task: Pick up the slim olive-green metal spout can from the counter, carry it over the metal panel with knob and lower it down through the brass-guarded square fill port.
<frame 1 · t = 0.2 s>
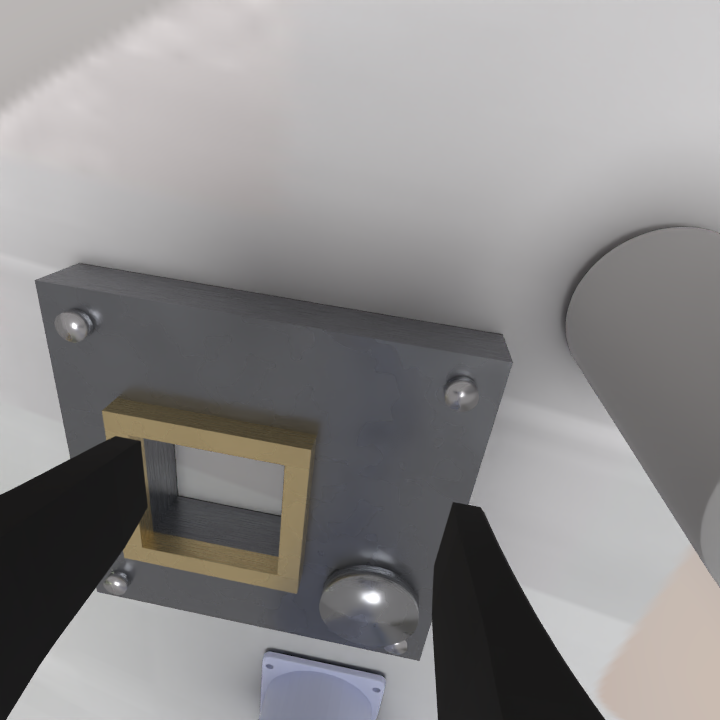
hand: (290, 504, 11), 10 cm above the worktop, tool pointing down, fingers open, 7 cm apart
beverage can: (647, 306, 18), on the worktop
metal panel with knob: (236, 459, 24), on the worktop
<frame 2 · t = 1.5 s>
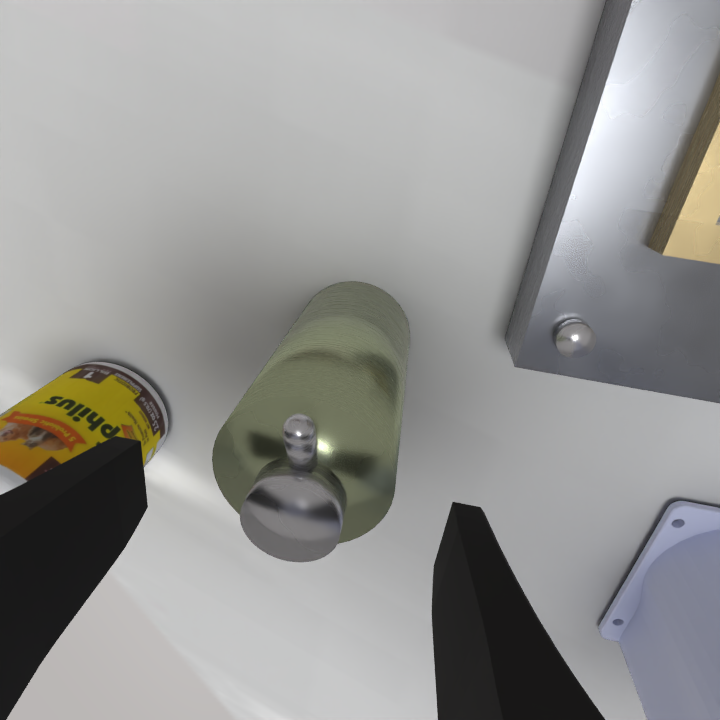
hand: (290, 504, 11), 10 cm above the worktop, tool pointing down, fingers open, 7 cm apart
supplement bottle: (121, 404, 23), on the worktop
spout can: (354, 335, 20), on the worktop
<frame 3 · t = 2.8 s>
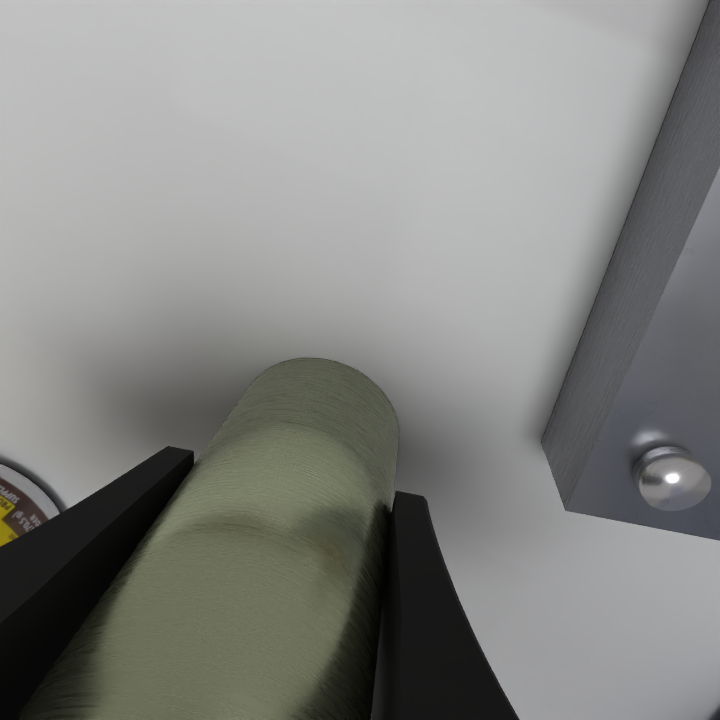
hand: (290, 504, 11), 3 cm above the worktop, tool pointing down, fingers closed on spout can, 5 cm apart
supplement bottle: (6, 506, 17), on the worktop
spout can: (318, 430, 13), on the worktop, touching gripper
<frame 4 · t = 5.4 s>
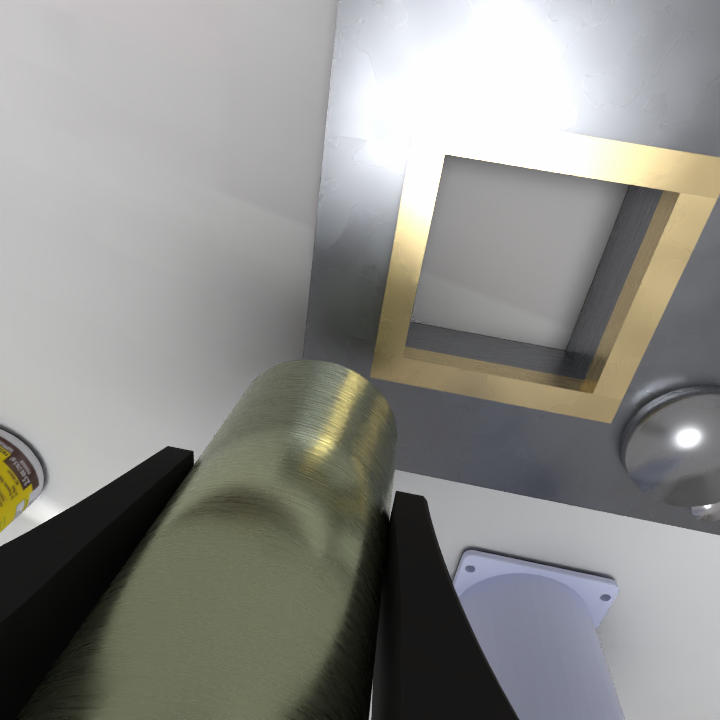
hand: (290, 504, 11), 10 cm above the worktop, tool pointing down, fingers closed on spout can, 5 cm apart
supplement bottle: (5, 458, 27), on the worktop
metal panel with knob: (508, 257, 18), on the worktop
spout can: (316, 432, 13), point 7 cm above the worktop, touching gripper
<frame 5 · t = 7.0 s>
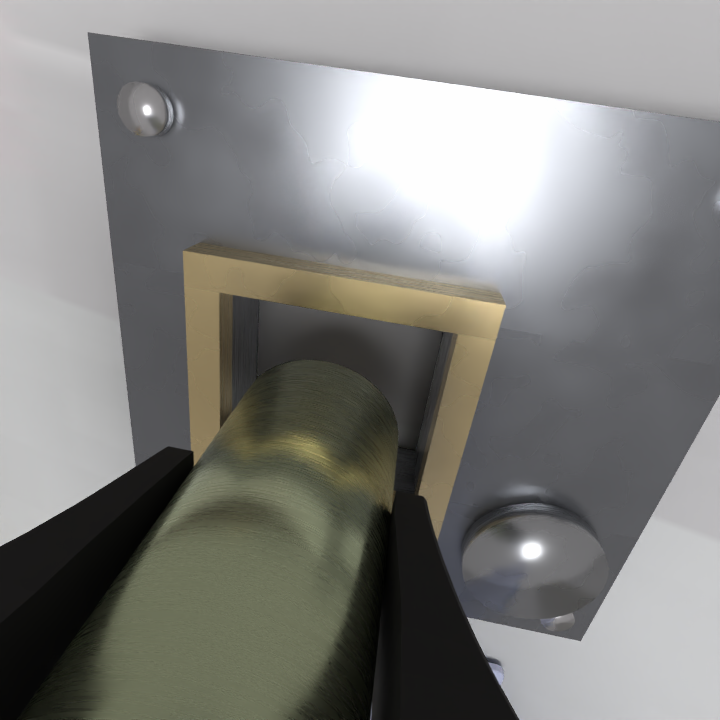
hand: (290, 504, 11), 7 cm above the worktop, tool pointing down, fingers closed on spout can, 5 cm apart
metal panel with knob: (343, 363, 17), on the worktop
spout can: (317, 432, 13), point 4 cm above the worktop, touching gripper
when the fingers open (4 cm above the worktop, at t = 8.0 s): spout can drops 1 cm, resting in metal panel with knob.
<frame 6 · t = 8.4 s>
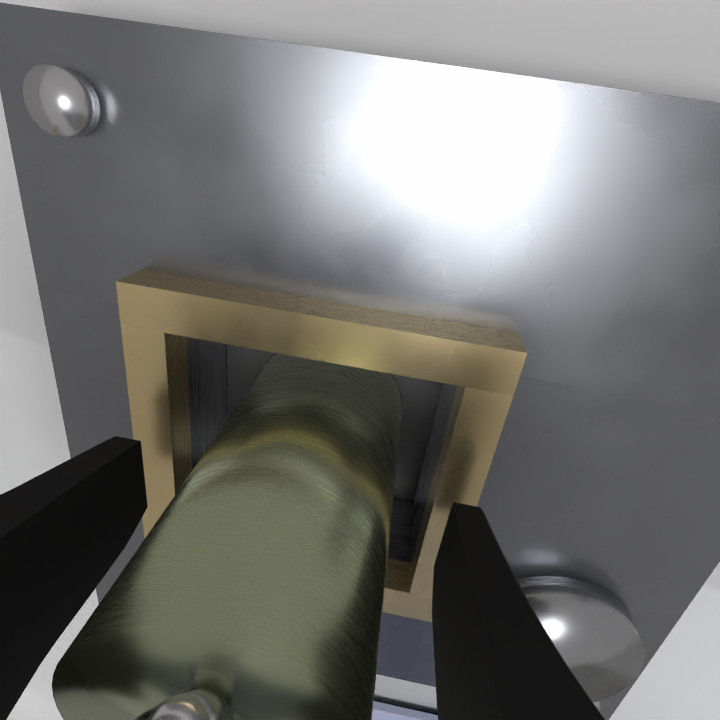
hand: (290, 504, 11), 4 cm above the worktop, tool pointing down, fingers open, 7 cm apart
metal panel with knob: (328, 403, 15), on the worktop
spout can: (328, 404, 15), resting in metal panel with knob
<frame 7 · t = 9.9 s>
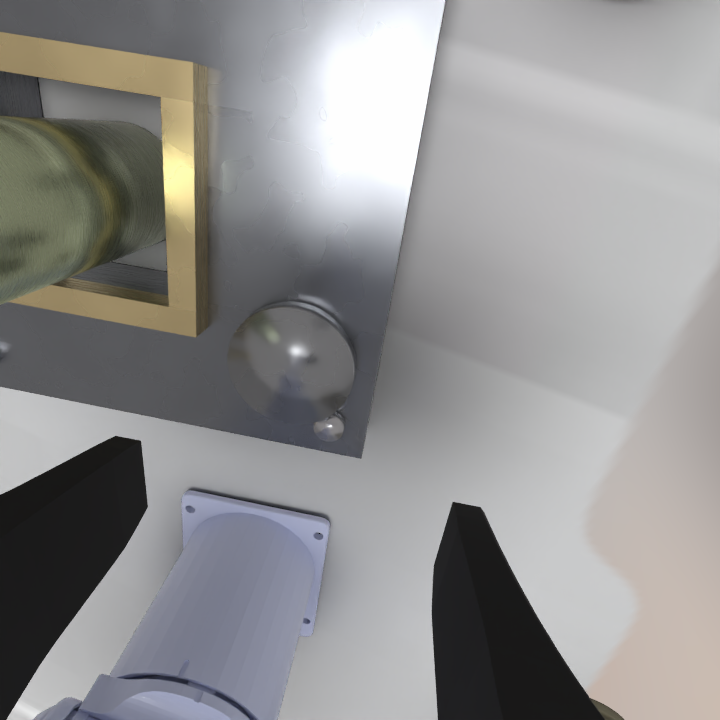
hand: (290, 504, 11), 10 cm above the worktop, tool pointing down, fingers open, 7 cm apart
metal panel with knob: (129, 185, 18), on the worktop
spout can: (130, 186, 19), resting in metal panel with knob
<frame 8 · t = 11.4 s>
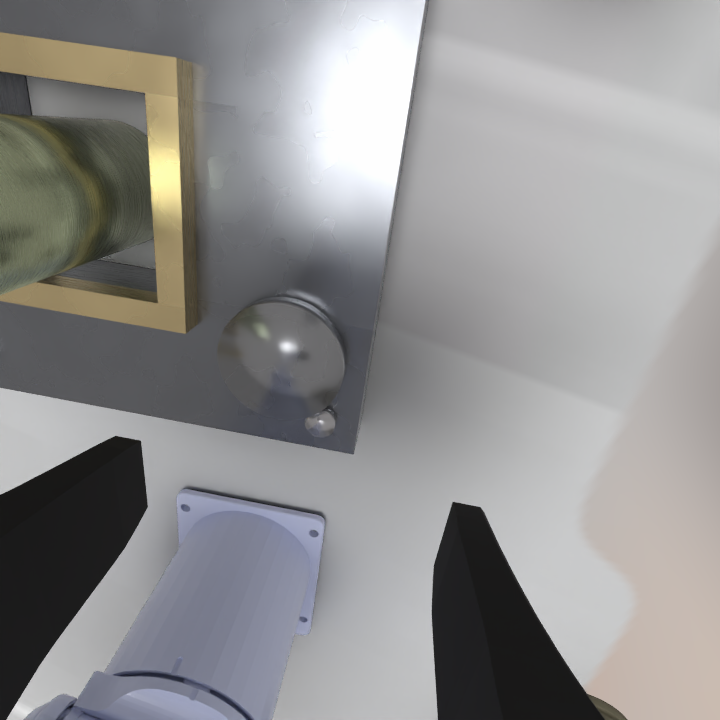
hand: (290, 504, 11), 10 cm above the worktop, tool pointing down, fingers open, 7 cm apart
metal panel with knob: (118, 183, 19), on the worktop
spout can: (119, 184, 19), resting in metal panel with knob
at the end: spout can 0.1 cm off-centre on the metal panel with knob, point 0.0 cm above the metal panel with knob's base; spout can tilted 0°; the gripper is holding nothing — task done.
